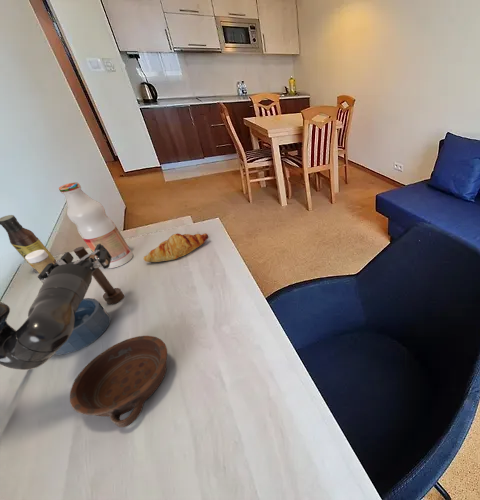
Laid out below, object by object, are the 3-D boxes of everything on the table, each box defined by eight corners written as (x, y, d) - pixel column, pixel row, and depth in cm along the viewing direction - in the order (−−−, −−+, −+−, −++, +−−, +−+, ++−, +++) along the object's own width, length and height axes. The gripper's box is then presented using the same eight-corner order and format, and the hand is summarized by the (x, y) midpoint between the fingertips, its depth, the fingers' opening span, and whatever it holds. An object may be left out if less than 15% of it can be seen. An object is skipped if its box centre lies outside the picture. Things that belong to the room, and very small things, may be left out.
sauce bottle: (35, 267, 106) (-9, 218, 95) (57, 259, 110) (17, 210, 98) (36, 275, 102) (-10, 224, 91) (58, 266, 106) (17, 216, 94)
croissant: (152, 276, 102) (142, 264, 95) (142, 253, 105) (132, 241, 98) (215, 250, 110) (210, 238, 104) (204, 230, 114) (199, 217, 107)
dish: (167, 330, 76) (158, 317, 73) (185, 397, 61) (175, 384, 58) (85, 370, 69) (71, 356, 66) (82, 458, 53) (64, 445, 50)
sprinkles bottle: (53, 294, 93) (22, 260, 85) (56, 286, 96) (26, 252, 88) (71, 288, 94) (42, 254, 86) (73, 281, 98) (45, 247, 90)
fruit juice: (123, 267, 101) (72, 190, 85) (96, 270, 101) (40, 193, 85) (139, 251, 109) (94, 177, 93) (113, 253, 109) (64, 180, 93)
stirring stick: (105, 306, 86) (65, 255, 76) (109, 296, 89) (71, 247, 79) (123, 301, 87) (86, 250, 77) (125, 291, 91) (90, 242, 80)
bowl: (39, 364, 71) (21, 349, 68) (59, 325, 81) (44, 309, 78) (105, 342, 75) (91, 326, 71) (116, 307, 85) (104, 291, 82)
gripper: (92, 264, 68) (108, 231, 81) (14, 286, 64) (44, 247, 77) (110, 289, 72) (123, 254, 85) (38, 310, 68) (62, 270, 81)
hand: (85, 251), depth 81 cm, fingers open, 6 cm apart
